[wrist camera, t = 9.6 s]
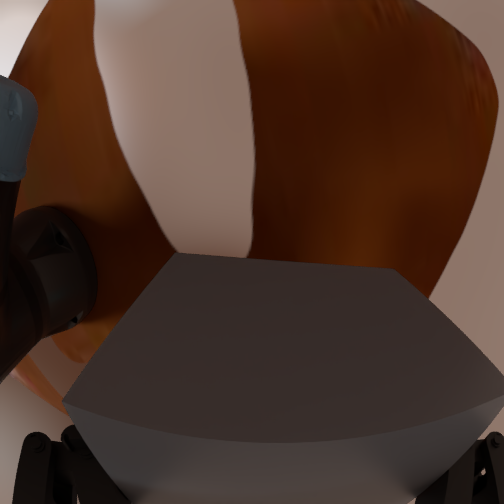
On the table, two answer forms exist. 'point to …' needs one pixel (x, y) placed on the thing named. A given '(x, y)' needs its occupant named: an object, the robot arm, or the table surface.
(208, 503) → the dark grey block
